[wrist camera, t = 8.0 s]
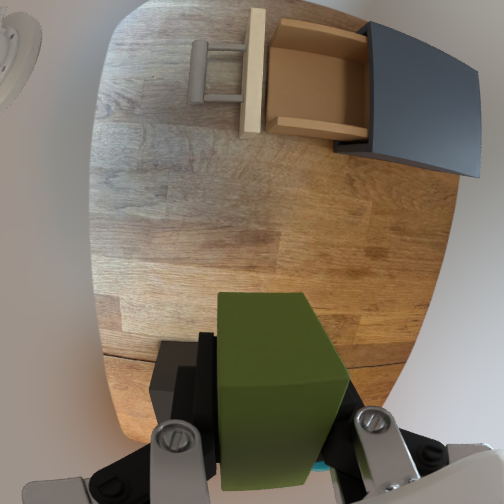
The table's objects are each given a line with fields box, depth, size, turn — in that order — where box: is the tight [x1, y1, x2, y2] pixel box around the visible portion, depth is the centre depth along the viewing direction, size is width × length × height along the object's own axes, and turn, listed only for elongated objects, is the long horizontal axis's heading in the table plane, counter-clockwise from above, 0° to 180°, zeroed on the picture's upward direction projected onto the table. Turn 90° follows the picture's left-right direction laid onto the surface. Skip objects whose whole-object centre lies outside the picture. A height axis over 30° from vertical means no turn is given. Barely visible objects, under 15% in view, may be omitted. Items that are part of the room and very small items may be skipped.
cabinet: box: [334, 21, 482, 178], centre depth 23 cm, size 15×13×9 cm
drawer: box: [187, 8, 370, 144], centre depth 22 cm, size 18×11×7 cm, turn 87°
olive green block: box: [217, 292, 350, 491], centre depth 9 cm, size 6×3×4 cm, turn 177°
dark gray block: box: [149, 341, 198, 425], centre depth 31 cm, size 7×5×9 cm
